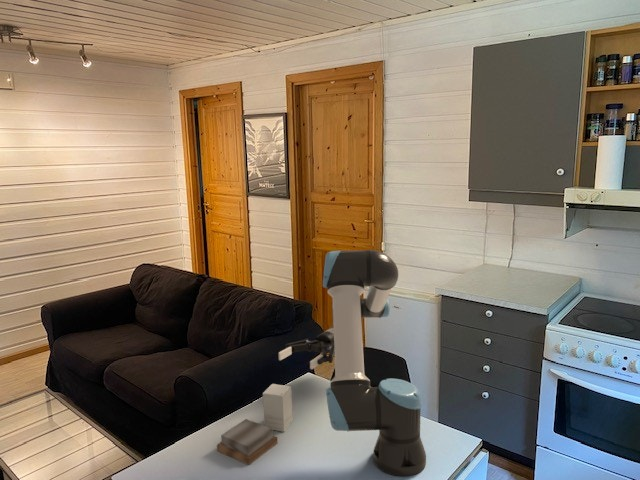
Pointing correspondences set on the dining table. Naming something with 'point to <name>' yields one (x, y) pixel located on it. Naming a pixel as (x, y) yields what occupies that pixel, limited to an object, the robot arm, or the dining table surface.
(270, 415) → the supplement box
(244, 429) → the tower plinth
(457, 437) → the dining table surface
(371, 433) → the dining table surface
